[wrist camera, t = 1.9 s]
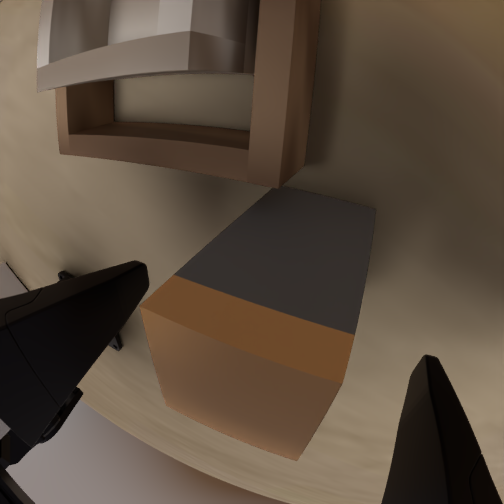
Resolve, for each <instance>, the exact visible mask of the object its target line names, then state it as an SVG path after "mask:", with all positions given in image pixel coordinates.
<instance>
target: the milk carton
mask: <svg viewBox="0 0 504 504" xmlns="http://www.w3.org/2000/svg"><path fill="white" fill-rule="evenodd" d="M25 292H28V291H27V290H26V288H25V287H24V286H23V285H22V283H21V282H20V281H19V280H18V278H17V277H16V276H15V275H14V273H13V272H12V271H11V270H10V268H9V267H8V266H7V264H6V263H5V262H3V263H2V264H0V299H1V298H5V297H10V296H14V295H18V294H22V293H25Z"/></svg>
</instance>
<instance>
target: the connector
mask: <svg viewBox="0 0 504 504" xmlns="http://www.w3.org/2000/svg"><path fill="white" fill-rule="evenodd" d="M375 214H376V209H373V208H369V207H366V206H362V205H358V204H355V203H351V202H347V201H343V200H339V199H335V198H331V197H327V196H323V195H319V194H315V193H311V192H307V191H302V190H298V189H294V188H289V187H285V186H281V187H280V188H279V189H276V188H272V189H271V190H270V191H269V192H268V193H267V194H265V195H264V196H263V197H262V198H261V199H259V200H258V201H257V202H256V203H255V204H254V205H252V206H251V207H250V208H249V209H248V210H247V211H245V212H244V213H243V214H242V215H241V216H240V217H238V218H237V219H236V220H235V221H234V222H233V223H231V224H230V225H229V226H228V227H227V228H226V229H225V230H223V231H222V232H221V233H220V234H219V235H218V236H217V237H215V238H214V239H213V240H212V241H211V242H210V243H209V244H207V245H206V246H205V247H204V248H203V249H202V250H201V251H200V252H198V253H197V254H196V255H195V256H194V257H193V258H192V259H191V260H189V261H188V262H187V263H186V264H185V265H184V266H183V267H182V268H181V269H179V270H178V271H177V272H176V273H175V274H174V275H173V276H172V277H171V278H169V279H168V280H167V281H166V282H165V283H164V284H163V285H162V286H161V287H160V288H159V289H157V290H156V291H155V292H154V293H153V294H152V295H151V296H150V297H149V298H148V299H147V300H145V301H144V302H143V303H142V304H141V305H140V310H141V314H142V319H143V323H144V327H145V332H146V336H147V340H148V344H149V348H150V351H151V355H152V359H153V363H154V366H155V370H156V373H157V377H158V380H159V384H160V387H161V390H162V394H163V397H164V400H165V403H166V406H168V407H170V408H172V409H174V410H176V411H177V412H179V413H181V414H183V415H185V416H187V417H189V418H191V419H193V420H195V421H197V422H199V423H202V424H204V425H206V426H208V427H210V428H212V429H214V430H217V431H219V432H221V433H223V434H226V435H228V436H230V437H233V438H235V439H237V440H240V441H242V442H245V443H247V444H250V445H252V446H255V447H258V448H260V449H263V450H266V451H268V452H271V453H274V454H277V455H280V456H283V457H286V458H289V459H292V460H295V461H297V460H298V459H299V457H300V456H301V454H302V453H303V451H304V450H305V448H306V446H307V445H308V443H309V442H310V440H311V438H312V437H313V435H314V433H315V432H316V430H317V428H318V427H319V425H320V423H321V422H322V420H323V418H324V416H325V415H326V413H327V411H328V409H329V408H330V406H331V404H332V402H333V400H334V399H335V397H336V395H337V393H338V391H339V389H340V387H341V385H342V383H343V380H344V376H345V372H346V369H347V365H348V361H349V357H350V353H351V349H352V345H353V340H354V336H355V332H356V327H357V323H358V318H359V313H360V308H361V303H362V298H363V293H364V288H365V282H366V276H367V271H368V264H369V258H370V252H371V245H372V238H373V230H374V222H375Z"/></svg>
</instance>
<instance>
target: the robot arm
mask: <svg viewBox="0 0 504 504" xmlns="http://www.w3.org/2000/svg"><path fill="white" fill-rule="evenodd" d="M58 277H59V280H60V281H58V282H57V283H55V284H52V285H49V286H45V287H44V288H43V287H42V288H39V289H35V290H32V291H29V292H25V293H22V294H18V295H14V296H10V297H5V298H1V299H0V504H35V503H34V502H33V501H32V500H31V499H30V498H29V496H27V494H26V493H25V492H24V491H23V490H22V489H21V488H20V487H19V486H18V484H17V483H16V482H15V481H14V480H13V478H12V477H11V476H10V475H9V474H8V472H7V471H6V470H5V469H6V468H7V467H8V466H9V465H12V464H16V463H18V462H19V461H20V460H21V459H22V458H23V457H24V456H25V454H26V453H28V452H29V450H31V449H32V448H33V447H34V446H36V445H37V444H39V443H44V442H46V441H48V440H49V439H51V438H52V437H53V436H54V435H55V434H56V433H57V432H58V430H59V429H60V428H61V426H62V425H63V423H64V422H65V420H66V419H67V417H68V416H69V414H70V413H71V411H72V410H73V408H74V407H75V405H76V404H77V402H78V401H79V400H80V398H81V397H82V395H83V392H82V391H81V390H80V389H79V388H77V387H76V386H77V385H78V383H79V382H80V381H81V379H82V378H83V377H84V375H85V374H86V373H87V372H88V370H89V369H90V368H91V366H92V365H93V364H94V362H95V361H96V360H97V359H98V357H99V356H100V355H101V353H102V352H103V351H104V350H105V348H106V347H107V346H108V345H109V346H110V347H112V348H114V349H115V350H117V351H120V350H121V349H122V345H121V342H120V339H119V336H118V332H119V331H120V330H121V328H122V327H123V326H124V324H125V323H126V322H127V320H128V319H129V317H130V316H131V314H132V313H133V311H134V310H135V308H136V307H137V305H138V304H139V302H140V301H141V299H142V298H143V296H144V295H145V293H146V292H147V290H148V288H149V277H148V271H147V266H146V264H144V263H142V262H139V261H136V260H134V261H131V262H127V263H124V264H120V265H117V266H113V267H110V268H106V269H103V270H99V271H96V272H92V273H89V274H86V275H82V276H79V277H75V278H74V277H72V276H71V275H69V274H67V273H65V272H64V271H61V272H59V273H58ZM381 504H503V503H502V501H501V499H500V496H499V494H498V492H497V489H496V487H495V485H494V482H493V480H492V478H491V475H490V472H489V470H488V467H487V465H486V462H485V459H484V457H483V455H482V454H481V449H480V447H479V444H478V442H477V439H476V437H475V435H474V432H473V430H472V428H471V425H470V423H469V421H468V418H467V416H466V414H465V412H464V410H463V407H462V405H461V403H460V401H459V399H458V397H457V395H456V393H455V391H454V389H453V386H452V384H451V382H450V380H449V378H448V376H447V374H446V373H445V371H444V369H443V367H442V365H441V363H440V361H439V359H438V358H437V357H435V356H431V355H424V356H423V357H422V358H421V360H420V361H419V363H418V364H417V366H416V367H415V369H414V370H413V372H412V374H411V376H410V380H409V384H408V389H407V393H406V397H405V402H404V406H403V410H402V413H401V417H400V421H399V426H398V431H397V437H396V442H395V448H394V453H393V458H392V463H391V467H390V472H389V476H388V480H387V484H386V488H385V492H384V496H383V500H382V503H381Z"/></svg>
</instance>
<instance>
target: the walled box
mask: <svg viewBox="0 0 504 504" xmlns="http://www.w3.org/2000/svg"><path fill="white" fill-rule="evenodd" d="M320 7H321V0H42V4H41V12H40V21H39V33H38V49H37V92H41V91H45V90H50V89H55V91H56V115H57V130H58V141H59V150H60V154H64V155H74V156H84V157H93V158H101V159H110V160H117V161H125V162H132V163H139V164H146V165H153V166H159V167H166V168H172V169H178V170H184V171H190V172H196V173H201V174H207V175H212V176H217V177H223V178H228V179H233V180H238V181H243V182H248V183H253V184H258V185H262V186H267V187H272V188H276V189H279V188H280V187H281V186H282V185H283V184H284V183H285V182H287V181H288V180H289V179H290V178H291V177H292V176H293V175H295V174H296V173H297V172H298V171H299V170H300V169H301V168H302V167H304V163H305V155H306V147H307V139H308V131H309V122H310V114H311V105H312V96H313V86H314V77H315V66H316V56H317V45H318V33H319V20H320ZM172 74H248V75H254V86H253V99H252V113H251V127H250V131H243V130H234V129H226V128H217V127H207V126H195V125H182V124H167V123H144V122H114V102H113V80H114V79H124V78H133V77H143V76H156V75H172Z"/></svg>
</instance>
